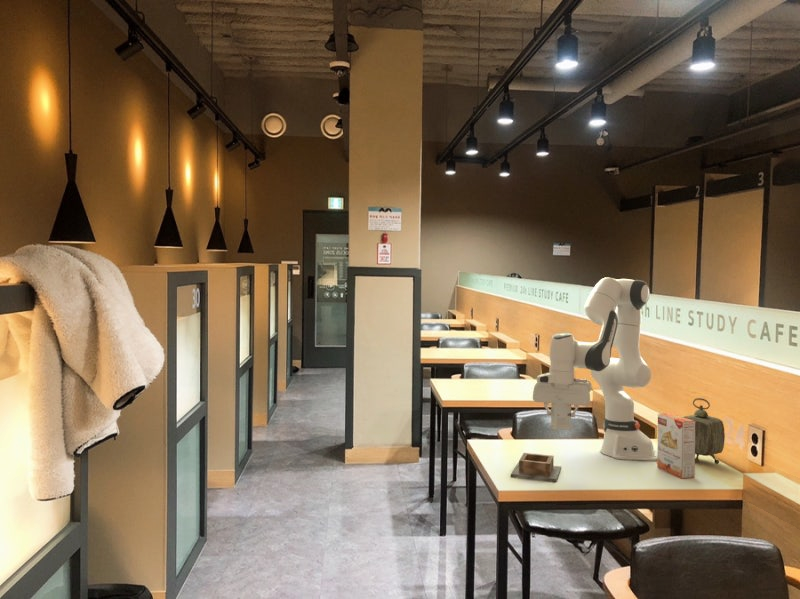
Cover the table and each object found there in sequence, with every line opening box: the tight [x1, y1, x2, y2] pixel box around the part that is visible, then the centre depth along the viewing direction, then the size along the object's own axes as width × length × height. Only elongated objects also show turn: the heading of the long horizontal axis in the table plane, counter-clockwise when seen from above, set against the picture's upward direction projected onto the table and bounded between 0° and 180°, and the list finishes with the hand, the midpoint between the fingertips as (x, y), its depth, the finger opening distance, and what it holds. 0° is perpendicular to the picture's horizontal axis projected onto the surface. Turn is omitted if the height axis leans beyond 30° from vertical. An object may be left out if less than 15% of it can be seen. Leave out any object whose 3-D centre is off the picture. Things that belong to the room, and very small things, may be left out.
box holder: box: [510, 452, 562, 483], centre depth 226 cm, size 16×16×6 cm
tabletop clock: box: [683, 397, 726, 465], centre depth 241 cm, size 14×9×25 cm, turn 31°
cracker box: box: [656, 412, 696, 480], centre depth 227 cm, size 14×6×21 cm, turn 13°
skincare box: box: [550, 396, 572, 431], centre depth 223 cm, size 6×4×12 cm
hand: (560, 415), depth 223 cm, fingers closed on skincare box, 7 cm apart
